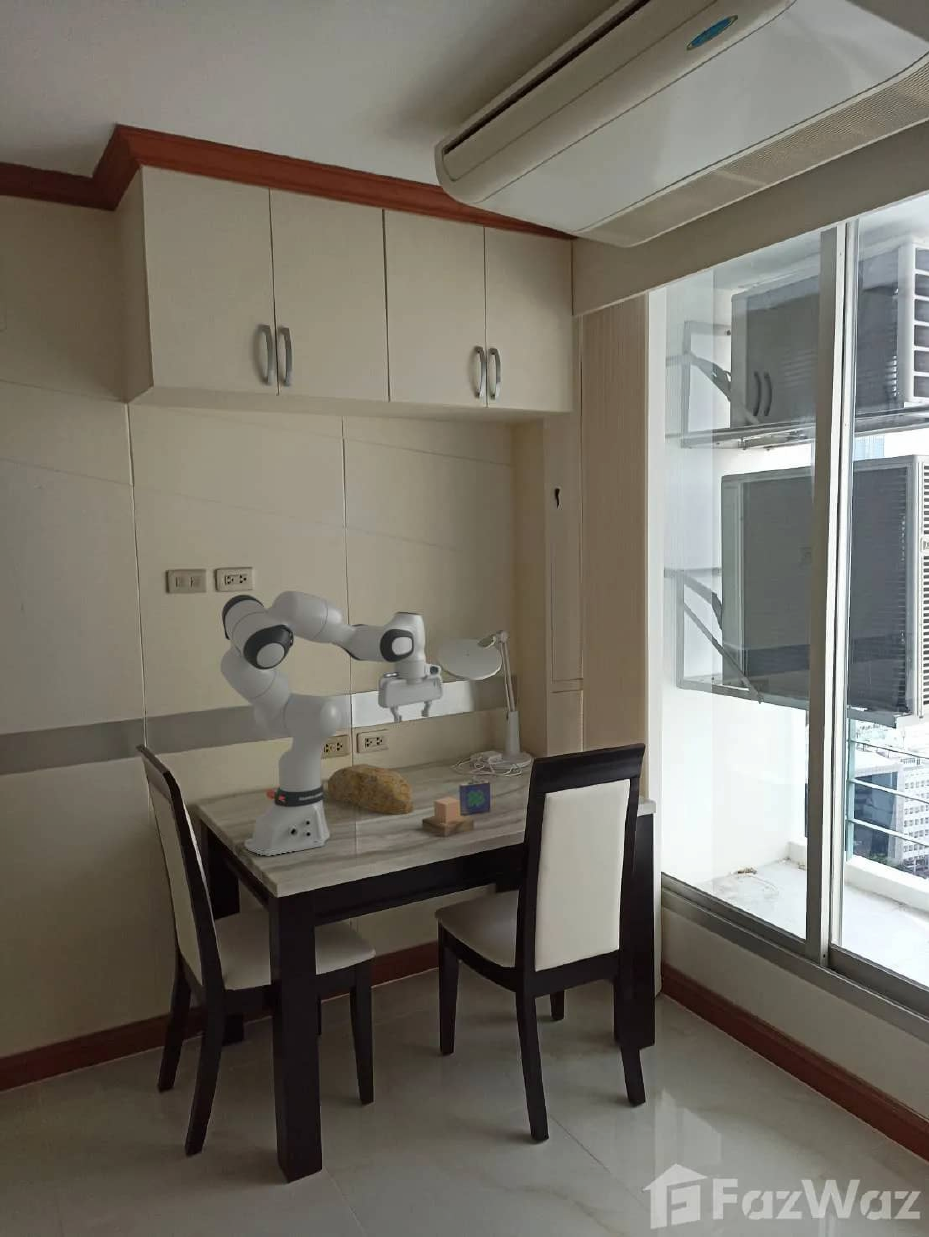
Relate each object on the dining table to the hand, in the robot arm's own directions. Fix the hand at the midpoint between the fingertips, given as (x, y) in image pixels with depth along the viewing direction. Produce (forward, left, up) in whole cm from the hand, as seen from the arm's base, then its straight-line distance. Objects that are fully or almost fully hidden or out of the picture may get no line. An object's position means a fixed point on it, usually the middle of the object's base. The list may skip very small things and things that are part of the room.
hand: (411, 719), depth 256 cm
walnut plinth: (+3, -11, -29) cm, 31 cm away
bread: (+2, +25, -30) cm, 39 cm away
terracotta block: (+3, -11, -26) cm, 29 cm away
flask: (+17, -6, -29) cm, 34 cm away
